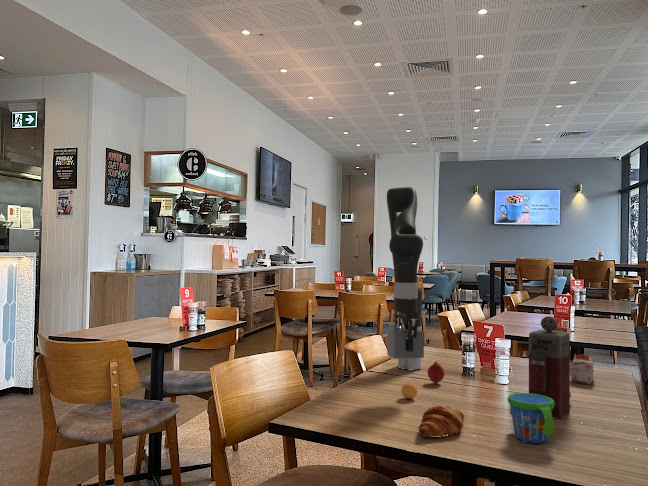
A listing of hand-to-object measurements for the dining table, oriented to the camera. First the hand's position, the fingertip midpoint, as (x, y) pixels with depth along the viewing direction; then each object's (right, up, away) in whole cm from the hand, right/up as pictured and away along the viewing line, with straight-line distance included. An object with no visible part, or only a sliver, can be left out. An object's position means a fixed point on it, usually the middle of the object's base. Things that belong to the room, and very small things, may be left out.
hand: (405, 349), depth 159 cm
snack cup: (+26, -15, -35) cm, 46 cm away
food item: (+70, -18, +27) cm, 77 cm away
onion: (+14, -17, +19) cm, 29 cm away
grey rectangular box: (0, -2, 0) cm, 2 cm away
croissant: (+5, -15, -29) cm, 33 cm away
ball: (+1, -13, -1) cm, 13 cm away
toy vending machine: (+39, -16, -13) cm, 45 cm away
